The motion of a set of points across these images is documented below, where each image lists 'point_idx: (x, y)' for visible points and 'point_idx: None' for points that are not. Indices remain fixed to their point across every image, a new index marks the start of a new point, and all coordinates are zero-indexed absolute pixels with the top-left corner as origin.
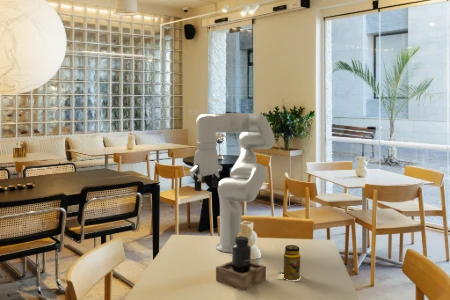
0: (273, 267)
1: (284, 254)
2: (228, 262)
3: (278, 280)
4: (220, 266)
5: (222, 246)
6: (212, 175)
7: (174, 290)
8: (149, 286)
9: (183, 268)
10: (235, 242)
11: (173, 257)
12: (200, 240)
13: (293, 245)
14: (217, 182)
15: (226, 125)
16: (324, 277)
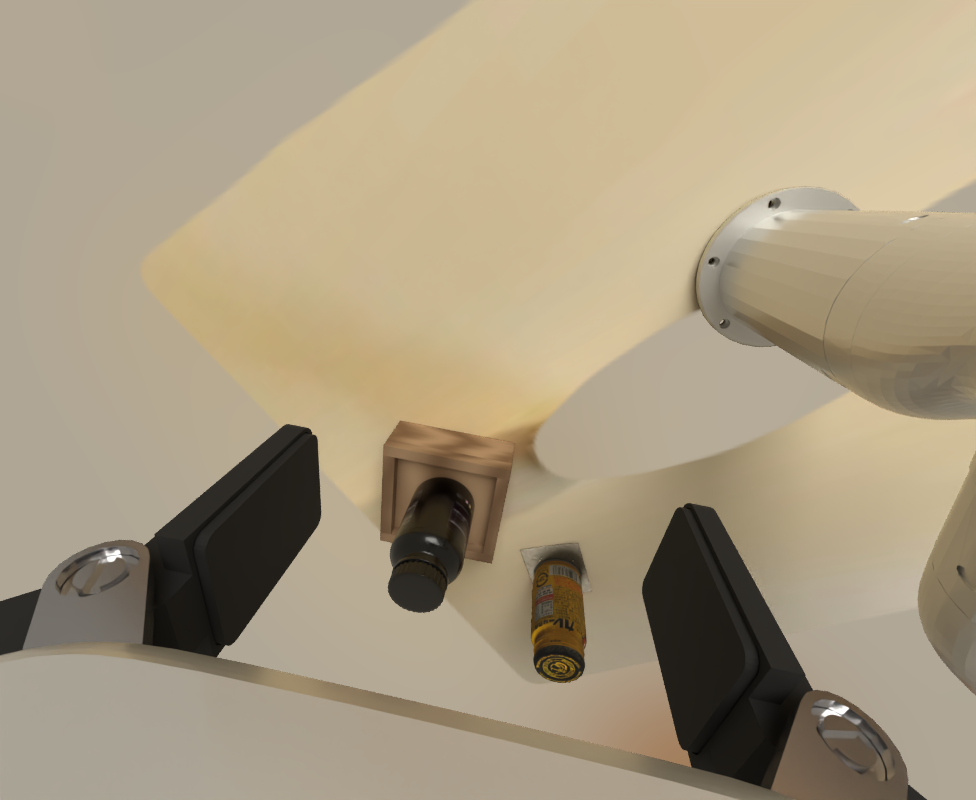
0: (612, 513)
1: (542, 627)
2: (448, 458)
3: (516, 555)
4: (397, 455)
5: (728, 259)
6: (784, 744)
7: (256, 358)
8: (210, 267)
9: (412, 252)
10: (394, 566)
11: (495, 95)
12: None
13: (577, 668)
14: (666, 674)
15: None
16: (605, 632)
